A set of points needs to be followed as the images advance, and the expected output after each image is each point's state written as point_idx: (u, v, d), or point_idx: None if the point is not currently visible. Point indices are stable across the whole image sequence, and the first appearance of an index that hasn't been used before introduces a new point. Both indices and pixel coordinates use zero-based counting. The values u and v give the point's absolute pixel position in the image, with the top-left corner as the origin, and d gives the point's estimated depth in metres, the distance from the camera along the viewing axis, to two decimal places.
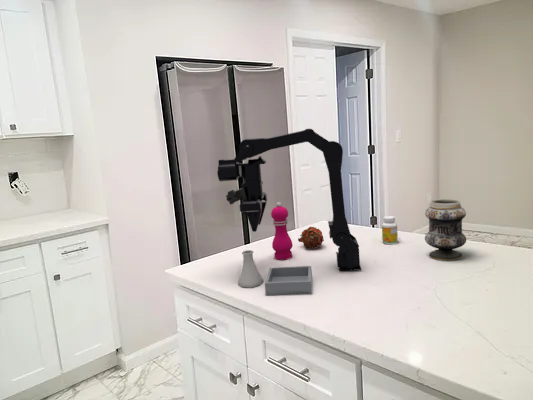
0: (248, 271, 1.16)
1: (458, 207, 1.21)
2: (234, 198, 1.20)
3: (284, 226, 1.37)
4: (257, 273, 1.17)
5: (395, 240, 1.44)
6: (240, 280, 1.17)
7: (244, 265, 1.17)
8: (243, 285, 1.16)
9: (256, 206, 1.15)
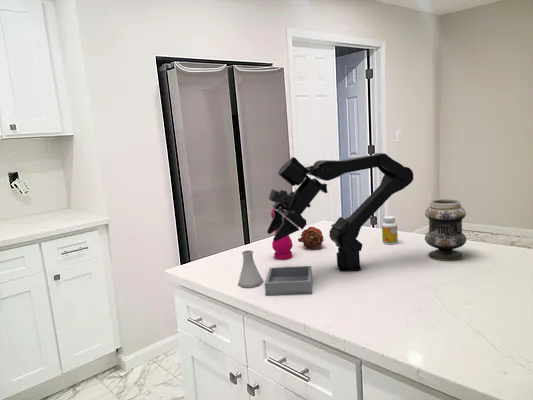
0: (248, 271, 1.16)
1: (458, 207, 1.21)
2: (283, 200, 1.12)
3: None
4: (257, 273, 1.17)
5: (395, 240, 1.44)
6: (240, 280, 1.17)
7: (244, 265, 1.17)
8: (243, 285, 1.16)
9: (303, 224, 1.09)
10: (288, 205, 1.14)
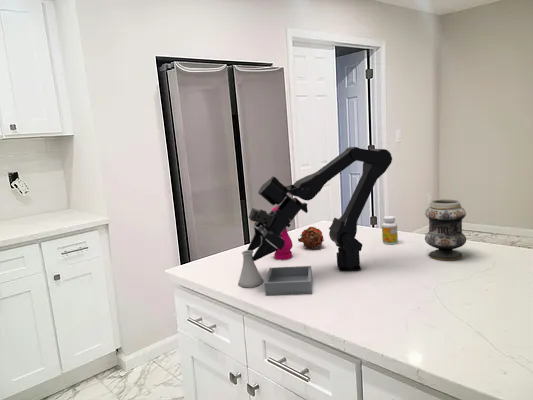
0: (248, 271, 1.16)
1: (458, 207, 1.21)
2: (262, 219, 1.12)
3: None
4: (257, 273, 1.17)
5: (395, 240, 1.44)
6: (240, 280, 1.17)
7: (244, 265, 1.17)
8: (243, 285, 1.16)
9: (281, 245, 1.09)
10: (267, 225, 1.14)
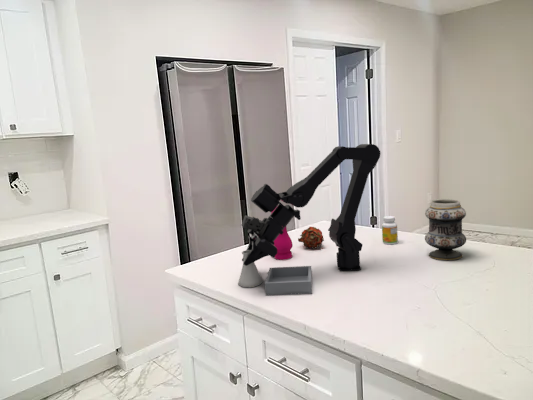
0: (248, 271, 1.16)
1: (458, 207, 1.21)
2: (255, 227, 1.12)
3: None
4: (257, 273, 1.17)
5: (395, 240, 1.44)
6: (240, 280, 1.17)
7: (244, 265, 1.17)
8: (243, 285, 1.16)
9: (274, 253, 1.09)
10: (260, 232, 1.14)
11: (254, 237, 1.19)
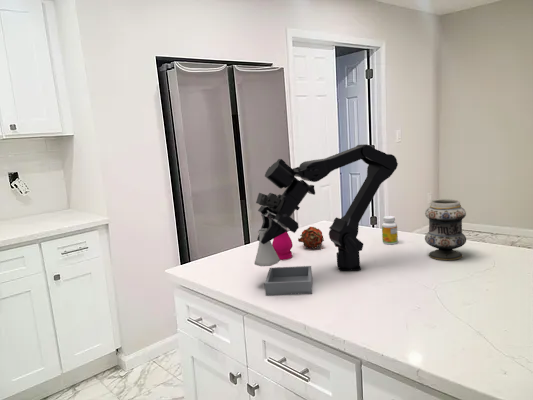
0: (266, 250, 1.12)
1: (458, 207, 1.21)
2: (272, 203, 1.09)
3: None
4: (274, 251, 1.14)
5: (395, 240, 1.44)
6: (257, 259, 1.13)
7: (261, 244, 1.13)
8: (261, 264, 1.12)
9: (295, 227, 1.06)
10: (277, 208, 1.11)
11: (268, 215, 1.16)
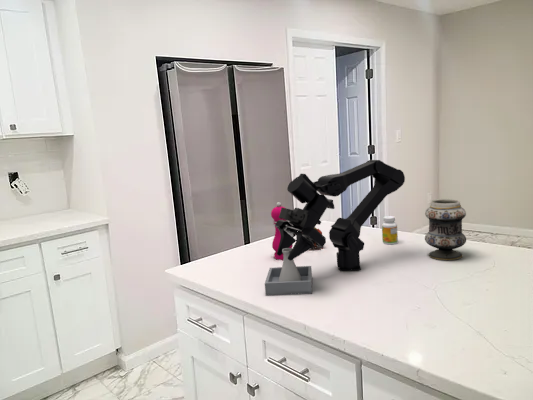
0: (291, 269, 1.11)
1: (458, 207, 1.21)
2: (299, 218, 1.08)
3: None
4: (297, 271, 1.13)
5: (395, 240, 1.44)
6: (281, 280, 1.12)
7: (285, 264, 1.12)
8: None
9: (324, 242, 1.07)
10: (302, 223, 1.10)
11: (286, 229, 1.16)
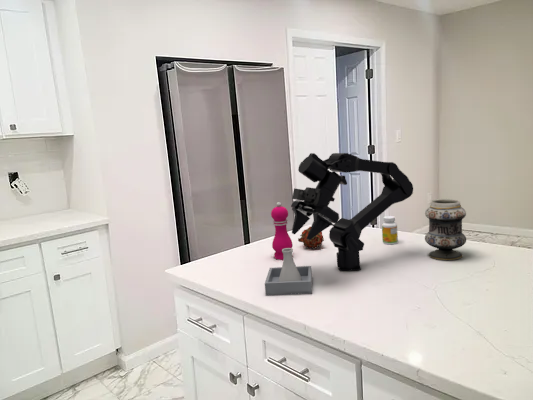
0: (291, 269, 1.11)
1: (458, 207, 1.21)
2: (311, 197, 1.11)
3: (284, 226, 1.37)
4: (297, 271, 1.13)
5: (395, 240, 1.44)
6: (281, 280, 1.12)
7: (285, 264, 1.12)
8: None
9: (337, 218, 1.09)
10: (315, 202, 1.13)
11: (299, 208, 1.21)
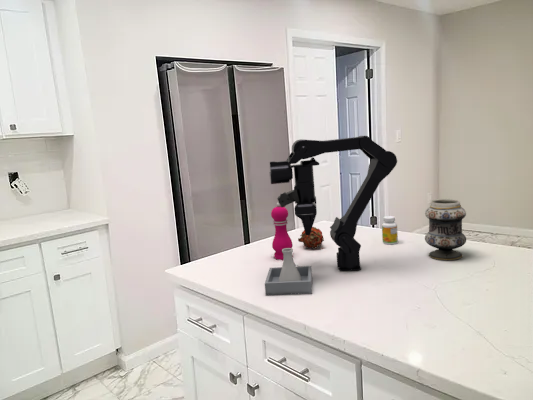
0: (291, 269, 1.11)
1: (458, 207, 1.21)
2: (287, 201, 1.17)
3: (284, 226, 1.37)
4: (297, 271, 1.13)
5: (395, 240, 1.44)
6: (281, 280, 1.12)
7: (285, 264, 1.12)
8: None
9: (313, 209, 1.11)
10: (296, 200, 1.18)
11: None
